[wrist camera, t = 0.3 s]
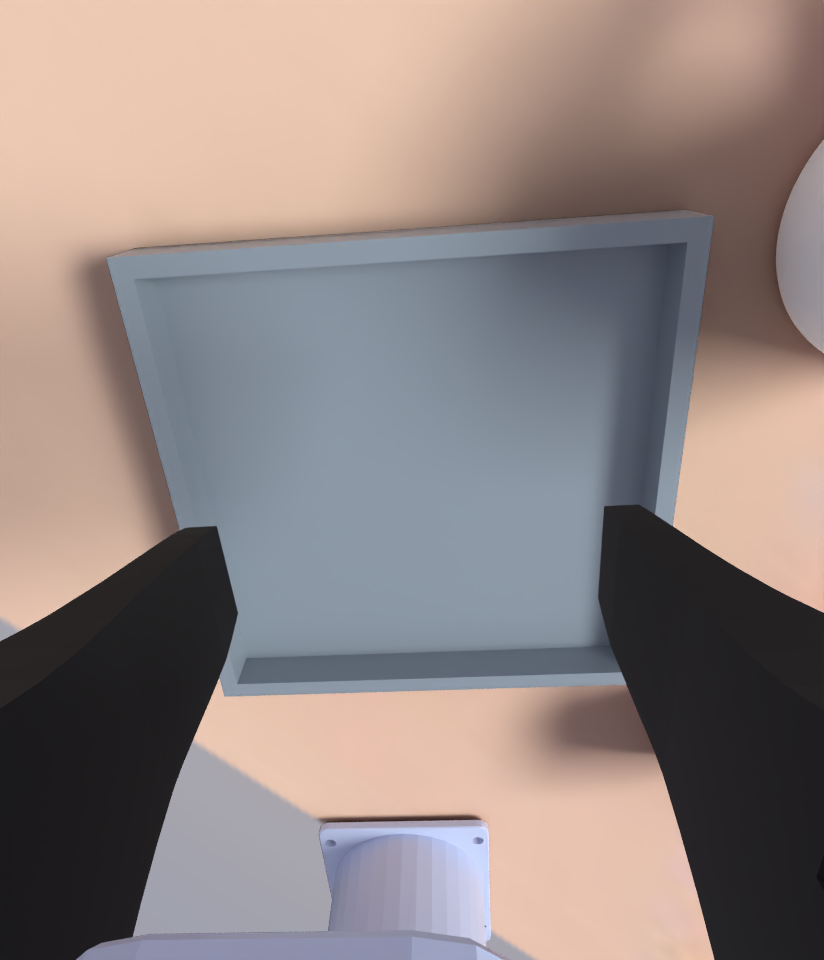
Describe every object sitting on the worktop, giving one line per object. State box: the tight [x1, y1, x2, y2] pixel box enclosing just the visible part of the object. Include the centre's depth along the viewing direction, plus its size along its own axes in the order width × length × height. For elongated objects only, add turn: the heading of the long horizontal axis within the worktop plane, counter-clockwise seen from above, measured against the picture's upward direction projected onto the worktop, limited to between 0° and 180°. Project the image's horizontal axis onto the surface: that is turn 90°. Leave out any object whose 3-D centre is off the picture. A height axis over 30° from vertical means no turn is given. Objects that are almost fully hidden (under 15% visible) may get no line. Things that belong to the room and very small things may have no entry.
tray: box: [106, 210, 714, 696], centre depth 21 cm, size 16×16×2 cm
